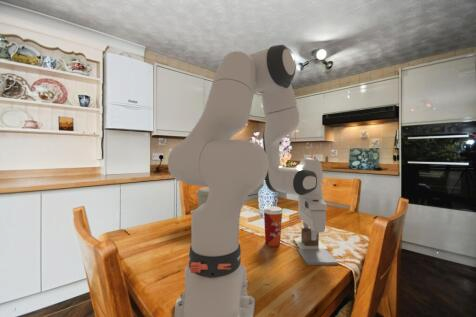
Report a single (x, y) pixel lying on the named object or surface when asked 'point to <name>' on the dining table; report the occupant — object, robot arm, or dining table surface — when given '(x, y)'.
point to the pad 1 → (302, 246)
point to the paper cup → (272, 225)
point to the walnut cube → (308, 237)
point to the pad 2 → (317, 257)
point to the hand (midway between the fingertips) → (309, 235)
